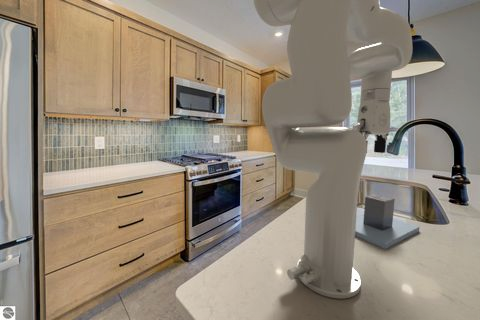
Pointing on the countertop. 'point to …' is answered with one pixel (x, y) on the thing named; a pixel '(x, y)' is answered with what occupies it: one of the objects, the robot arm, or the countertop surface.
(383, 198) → the grey block
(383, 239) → the post board
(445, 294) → the countertop surface
